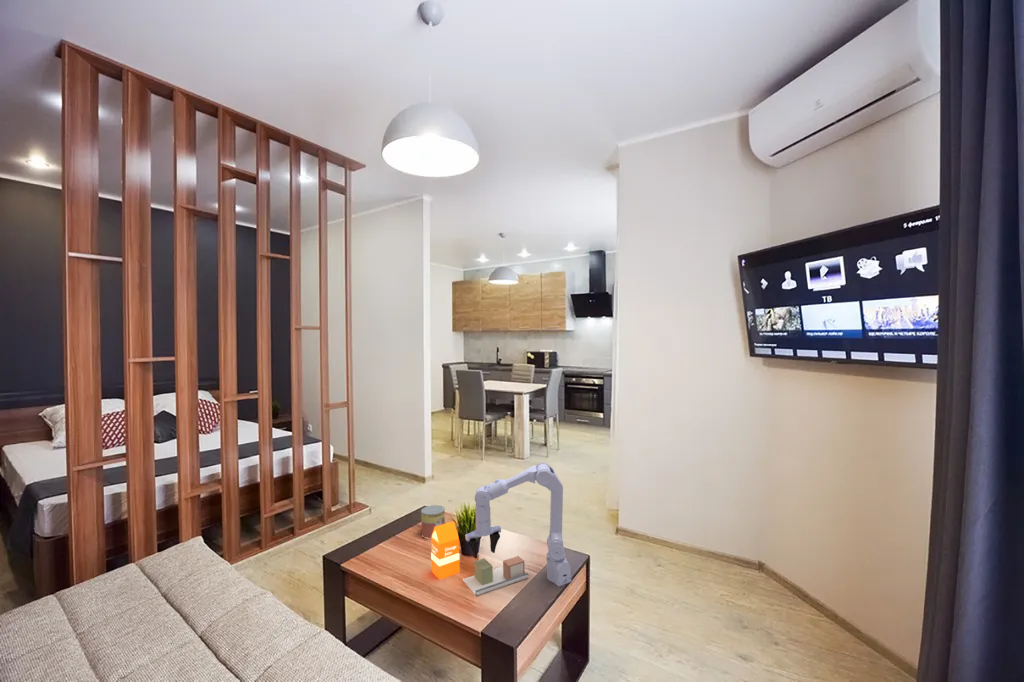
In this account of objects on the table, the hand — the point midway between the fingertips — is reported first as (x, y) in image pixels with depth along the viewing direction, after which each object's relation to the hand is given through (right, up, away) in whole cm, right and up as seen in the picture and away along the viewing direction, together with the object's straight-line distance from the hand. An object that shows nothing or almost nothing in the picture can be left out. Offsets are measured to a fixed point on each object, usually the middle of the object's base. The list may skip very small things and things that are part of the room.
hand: (484, 554), depth 165 cm
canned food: (-27, -11, +41) cm, 51 cm away
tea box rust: (+12, -9, +1) cm, 15 cm away
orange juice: (-16, -11, +5) cm, 20 cm away
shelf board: (+4, -10, 0) cm, 11 cm away
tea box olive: (0, -9, -1) cm, 9 cm away
